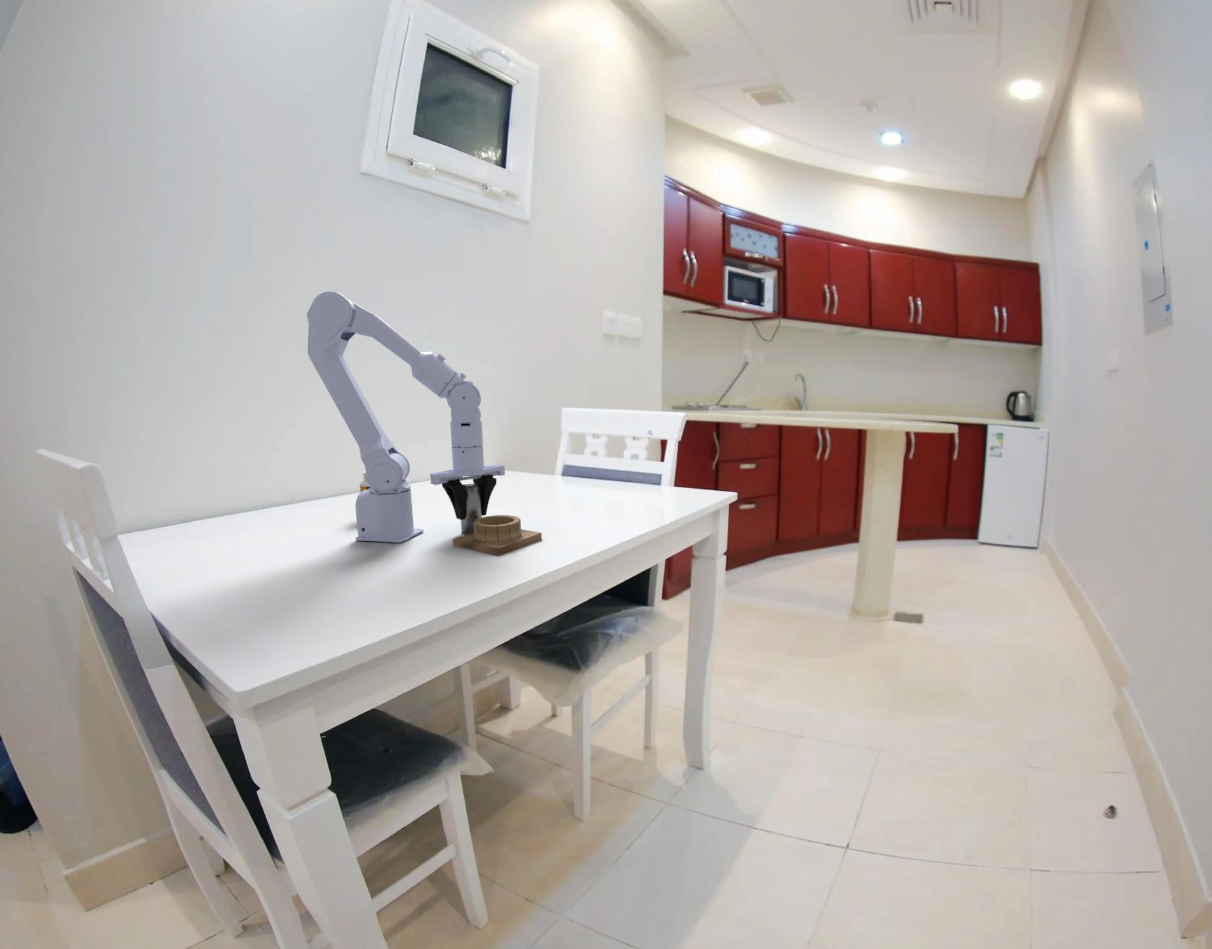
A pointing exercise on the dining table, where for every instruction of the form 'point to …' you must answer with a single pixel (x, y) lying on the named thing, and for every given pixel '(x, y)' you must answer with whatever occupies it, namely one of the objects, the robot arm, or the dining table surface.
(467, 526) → the steel pin
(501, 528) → the socket block
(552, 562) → the dining table surface
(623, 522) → the dining table surface
